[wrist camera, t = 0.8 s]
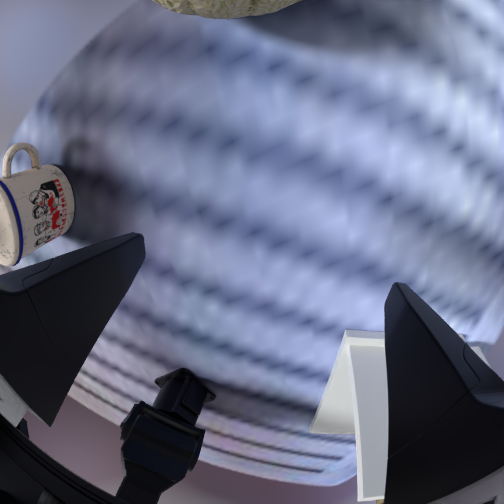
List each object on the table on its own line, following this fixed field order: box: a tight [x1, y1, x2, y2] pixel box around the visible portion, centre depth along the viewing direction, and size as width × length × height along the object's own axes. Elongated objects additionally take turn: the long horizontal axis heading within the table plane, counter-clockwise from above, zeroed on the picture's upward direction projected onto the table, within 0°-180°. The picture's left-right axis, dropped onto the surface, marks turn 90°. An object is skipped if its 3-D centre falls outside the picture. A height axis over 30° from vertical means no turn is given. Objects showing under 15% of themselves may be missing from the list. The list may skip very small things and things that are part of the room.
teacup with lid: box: [0, 143, 74, 266], centre depth 20 cm, size 12×9×12 cm
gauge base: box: [310, 329, 491, 501], centre depth 21 cm, size 18×19×17 cm
